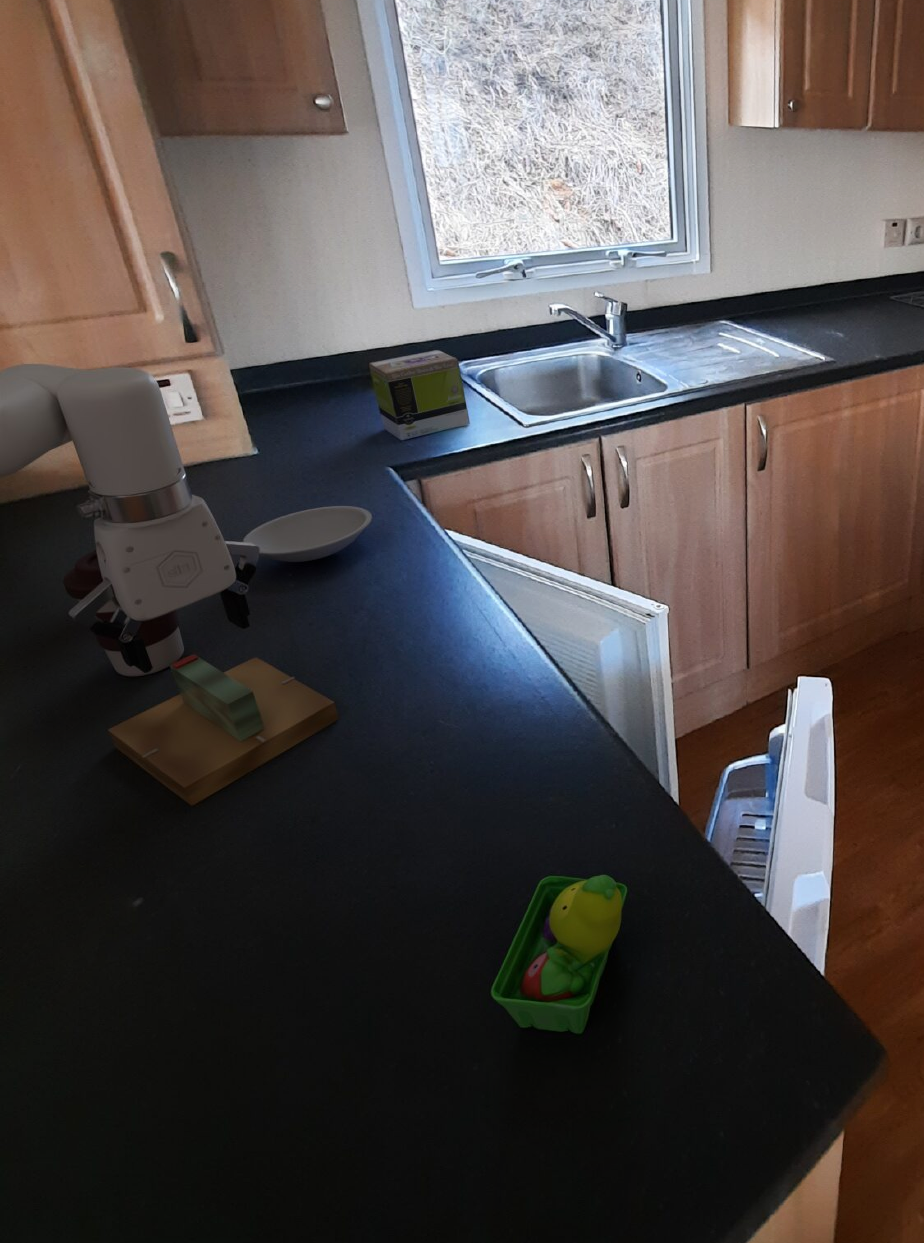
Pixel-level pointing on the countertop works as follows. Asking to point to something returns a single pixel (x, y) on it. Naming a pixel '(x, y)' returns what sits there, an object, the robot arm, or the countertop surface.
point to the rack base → (222, 733)
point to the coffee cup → (155, 633)
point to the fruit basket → (560, 952)
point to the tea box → (419, 394)
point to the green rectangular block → (217, 697)
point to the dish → (309, 533)
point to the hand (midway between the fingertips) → (192, 645)
